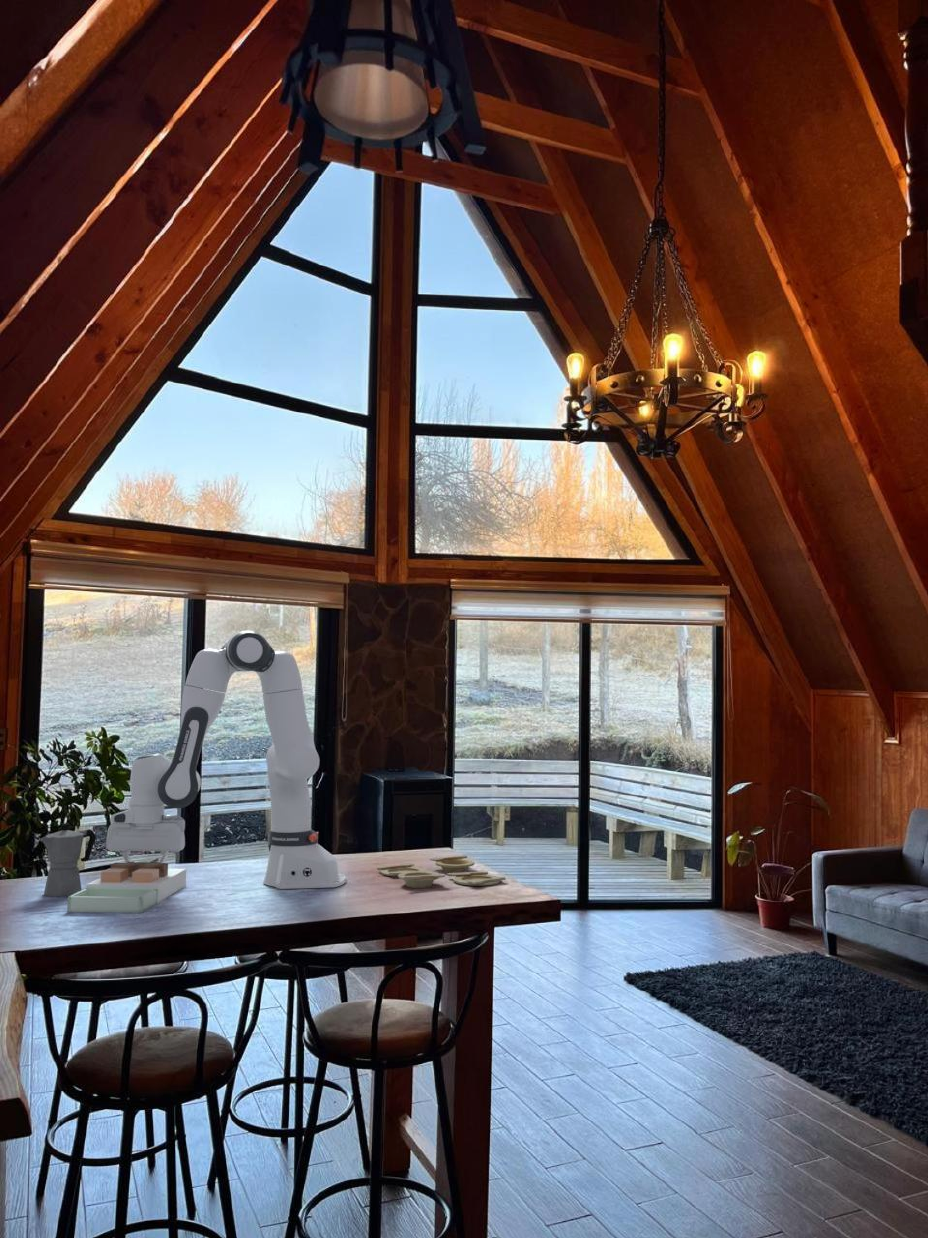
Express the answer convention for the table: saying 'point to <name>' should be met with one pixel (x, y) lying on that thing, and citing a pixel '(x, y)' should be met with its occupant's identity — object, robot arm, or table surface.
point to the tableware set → (450, 865)
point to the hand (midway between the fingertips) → (145, 868)
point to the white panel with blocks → (149, 884)
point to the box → (112, 900)
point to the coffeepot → (65, 860)
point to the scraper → (144, 866)
